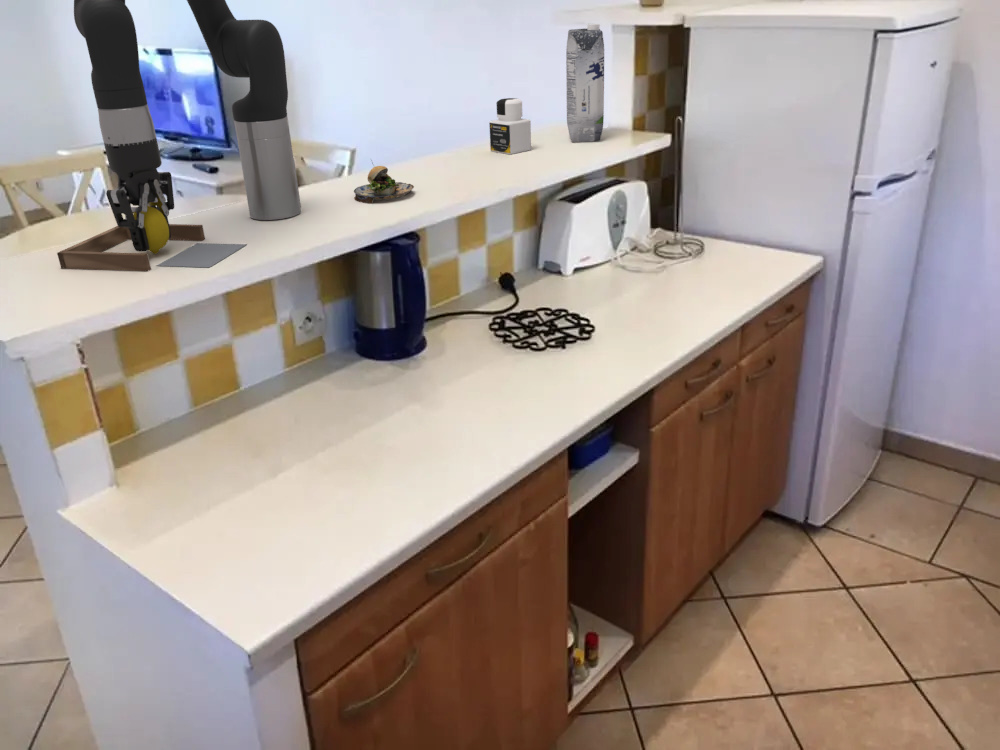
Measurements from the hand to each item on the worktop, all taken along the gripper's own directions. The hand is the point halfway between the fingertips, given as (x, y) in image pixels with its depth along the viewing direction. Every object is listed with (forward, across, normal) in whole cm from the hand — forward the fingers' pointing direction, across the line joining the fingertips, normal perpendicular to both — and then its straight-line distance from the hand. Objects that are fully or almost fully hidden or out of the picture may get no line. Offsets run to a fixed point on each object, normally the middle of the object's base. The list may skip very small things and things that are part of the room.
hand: (153, 244), depth 136 cm
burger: (+2, -40, +25) cm, 47 cm away
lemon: (+2, 0, 0) cm, 2 cm away
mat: (+1, 0, +8) cm, 9 cm away
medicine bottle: (+2, -86, +41) cm, 95 cm away
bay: (+1, 0, -4) cm, 4 cm away
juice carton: (+2, -101, +57) cm, 116 cm away
